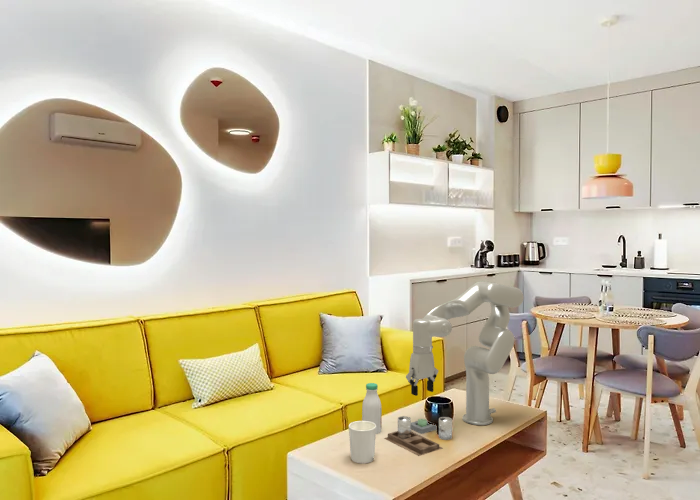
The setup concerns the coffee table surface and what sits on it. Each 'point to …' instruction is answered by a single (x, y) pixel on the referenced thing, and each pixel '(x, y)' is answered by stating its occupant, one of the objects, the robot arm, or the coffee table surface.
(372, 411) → the milk bottle
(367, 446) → the white cup
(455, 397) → the coffee table surface
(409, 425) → the cylinder
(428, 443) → the brown cruet tray
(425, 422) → the button
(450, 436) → the silver rounded cylinder
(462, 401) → the coffee table surface
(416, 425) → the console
